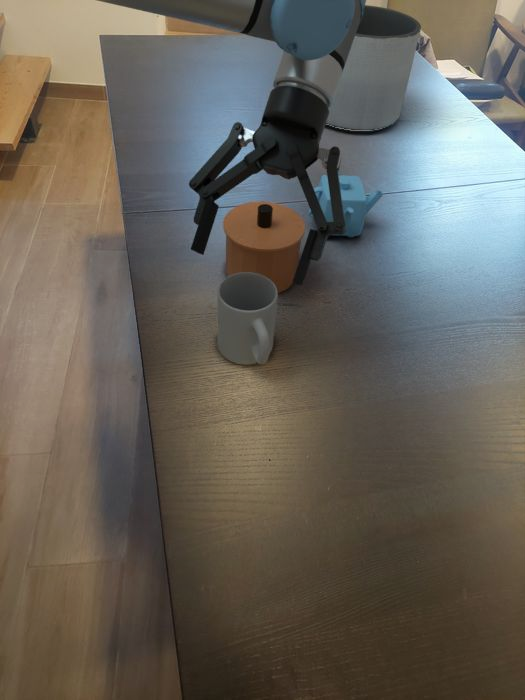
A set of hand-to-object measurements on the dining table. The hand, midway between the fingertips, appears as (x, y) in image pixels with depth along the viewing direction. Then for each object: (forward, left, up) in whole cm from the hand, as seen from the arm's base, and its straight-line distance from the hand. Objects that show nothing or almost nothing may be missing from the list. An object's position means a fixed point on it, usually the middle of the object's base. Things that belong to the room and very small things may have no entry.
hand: (246, 268), depth 63 cm
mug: (+1, +2, -18) cm, 18 cm away
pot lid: (-2, +21, -8) cm, 23 cm away
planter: (+7, +92, -18) cm, 94 cm away
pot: (-2, +21, -18) cm, 28 cm away
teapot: (+10, +39, -18) cm, 44 cm away
